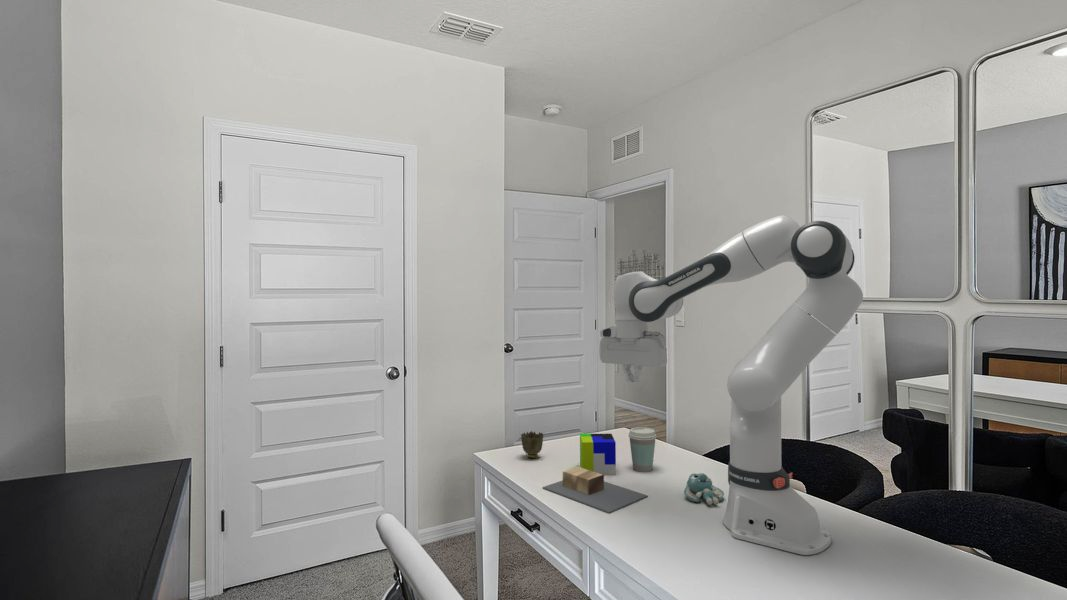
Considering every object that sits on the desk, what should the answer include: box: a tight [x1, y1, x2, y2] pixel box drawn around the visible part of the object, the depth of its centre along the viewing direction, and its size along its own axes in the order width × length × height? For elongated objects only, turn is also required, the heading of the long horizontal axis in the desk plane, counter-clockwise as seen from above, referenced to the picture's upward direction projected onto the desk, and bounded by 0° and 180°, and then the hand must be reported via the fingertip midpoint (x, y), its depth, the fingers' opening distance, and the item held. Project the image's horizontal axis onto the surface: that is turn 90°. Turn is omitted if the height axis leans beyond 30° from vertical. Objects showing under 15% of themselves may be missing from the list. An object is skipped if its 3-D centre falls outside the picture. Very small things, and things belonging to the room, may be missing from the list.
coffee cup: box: [628, 426, 657, 473], centre depth 168 cm, size 8×8×12 cm
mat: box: [542, 479, 649, 515], centre depth 148 cm, size 24×16×1 cm, turn 42°
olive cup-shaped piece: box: [520, 430, 544, 460], centre depth 180 cm, size 8×7×8 cm
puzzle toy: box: [579, 433, 617, 476], centre depth 167 cm, size 10×10×10 cm
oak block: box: [562, 466, 605, 495], centre depth 151 cm, size 4×6×10 cm
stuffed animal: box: [683, 472, 725, 506], centre depth 143 cm, size 11×7×12 cm
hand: (632, 381), depth 148 cm, fingers closed
